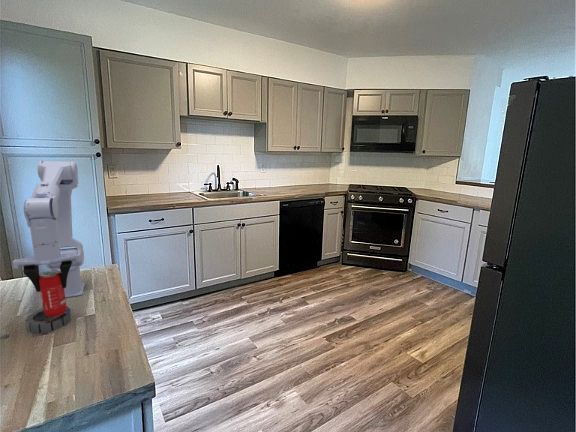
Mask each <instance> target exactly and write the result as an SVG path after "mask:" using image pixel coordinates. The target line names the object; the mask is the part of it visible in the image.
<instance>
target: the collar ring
mask: <svg viewBox="0 0 576 432" xmlns="http://www.w3.org/2000/svg"><path fill="white" fill-rule="evenodd" d="M47 318H49V317H47V316H46V315H45V314H44V311H43V308H40V309H38V310H36V311H34V312H32V313H30V314H29V315H27V316H26V318H25V328H26V330H27V331H28V332H29V333H31V334H43V333H49V332H53V331H56V330H59V329H60V328H63V327H65V326H66V325H68V324H69V323H70V322H71V321H72V309H71V308H70V307H68V306H67V308H66V311H65V313H64V314H62V315H60V316H57V317H54V318H53V319H50V320H45V321H41V320H44V319H47Z"/></svg>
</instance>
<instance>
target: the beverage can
mask: <svg viewBox="0 0 576 432" xmlns="http://www.w3.org/2000/svg"><path fill="white" fill-rule="evenodd" d="M38 280H39V286H40V298H41V304H42V309H43V311H44V314H45V315H46V316H47V317H48V318H58V317H60V315H62V314H64V313H65V311H66V308H67V307H68V306H67V302H66V299H67V298H66V297H65V292H64V288H63V287H62V276H61V273H60V271H58V270H52V271H51V270H48V271H47V270H46V271H44V272H42V273H39V278H38Z"/></svg>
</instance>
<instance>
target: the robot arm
mask: <svg viewBox="0 0 576 432" xmlns="http://www.w3.org/2000/svg"><path fill="white" fill-rule="evenodd" d="M78 173H79V170H78V165H77V163H76V162H75V161H74V160H71V161H59V160H58V161H53V160H52V161H50V160H48V161H47V160H45V161H44V160H39V162H38V163H37V175H38V177H39V180H40V182H39V183H37V184H36V185H35V188H34V189H33V192H32V194H31V196H30V197H29V198H28V199H25V200H24V202H23V204H22V205H23V209H22V210H23V214H24V218H25V220H26V224H27V227H28V228H29V229H30V235H31V236H30V237H31V244H32V251H33V256H29V257H28V256H27V257H24V258H17V259H14V260H13V261H12V266H13V267H12V268H13V270H14V269H15V270H17V269H20V268H23V270H22V272H23V274H24V275H25V276H26V277H27V278H28V279H29V280H30V282H31V283H32V284H33V286H34V288H35V291H36V293H39V292H40V286H39V280H38V278H39V275H40V269H39V268H40V267H39V266H43V265H44V266H46V268H48V269H49V270H50V271H52V270H58V271H60V273H61V276H62V287H63V288H64V292H65V298H69V297H70V298H71V297H77V296H82V295H84V289H85V286H86V285H85V282H82V278H81V277H82V276H81V275H82V274H81V269H80V268H81V266H82V265H83V264H84V263H85V262H84V261H85V253H84V248H83V247H84V246H83V244H82V242H81V241H79V240H77V239H75V238H74V237H73V215H72V194H73V193H72V191H73V190H74V189H77V188H78V184H79V176H78V175H79V174H78ZM40 293H41V292H40Z"/></svg>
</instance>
